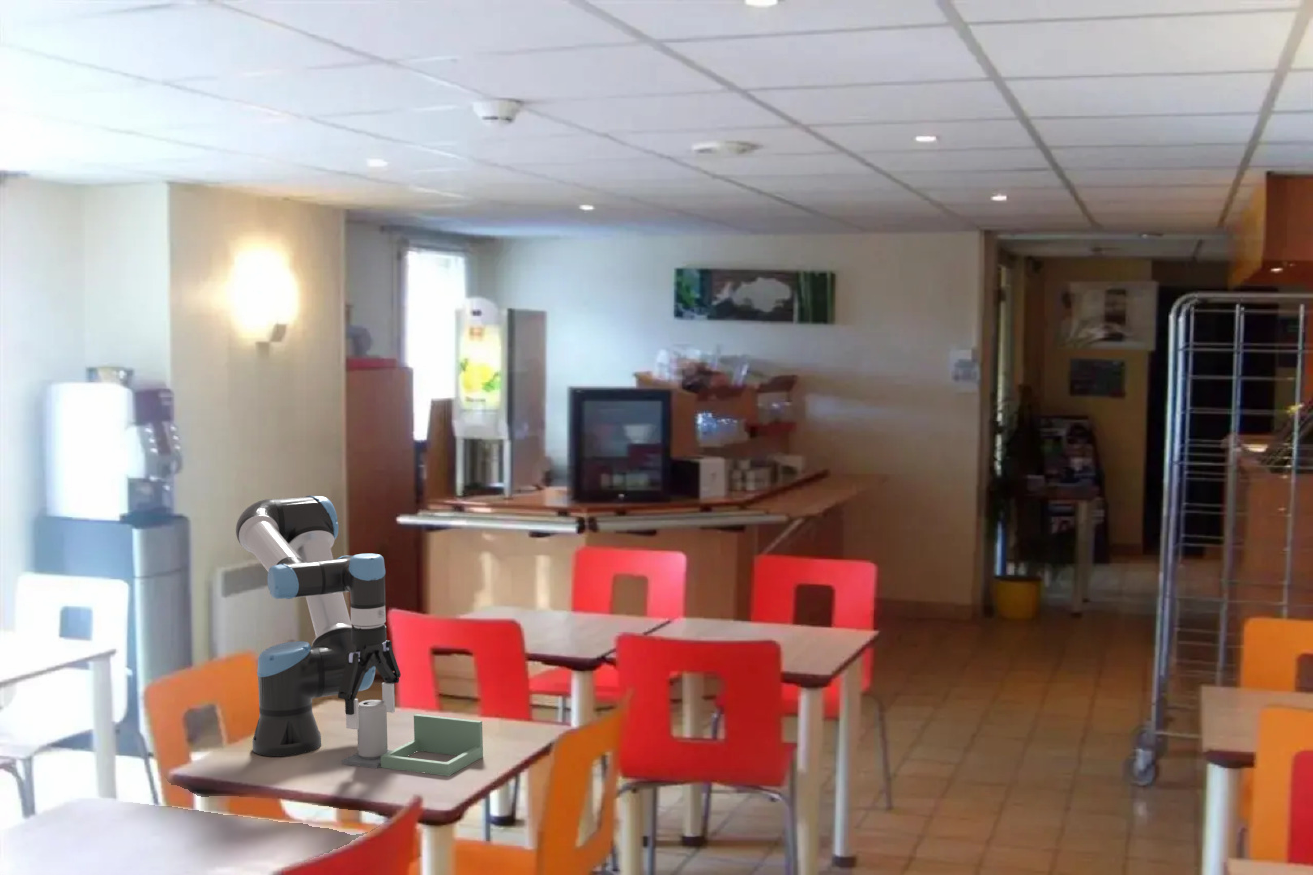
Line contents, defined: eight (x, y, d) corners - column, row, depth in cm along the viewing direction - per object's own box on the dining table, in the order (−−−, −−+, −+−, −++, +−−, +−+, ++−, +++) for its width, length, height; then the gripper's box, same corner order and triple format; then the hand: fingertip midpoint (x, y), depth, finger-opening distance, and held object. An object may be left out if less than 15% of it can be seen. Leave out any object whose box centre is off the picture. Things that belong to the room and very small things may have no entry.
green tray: (380, 767, 292) (379, 731, 291) (417, 748, 305) (416, 714, 305) (448, 776, 285) (447, 738, 285) (483, 756, 298) (482, 721, 298)
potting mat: (342, 763, 295) (342, 760, 295) (369, 751, 304) (368, 747, 304) (376, 768, 291) (376, 764, 291) (402, 755, 301) (402, 751, 300)
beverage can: (363, 751, 301) (361, 698, 300) (391, 751, 300) (389, 698, 300) (354, 760, 295) (352, 706, 294) (383, 760, 294) (381, 706, 293)
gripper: (348, 638, 283) (351, 737, 285) (414, 615, 306) (416, 706, 307) (319, 635, 286) (322, 733, 287) (386, 612, 309) (389, 703, 310)
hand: (371, 720), depth 297 cm, fingers open, 13 cm apart
